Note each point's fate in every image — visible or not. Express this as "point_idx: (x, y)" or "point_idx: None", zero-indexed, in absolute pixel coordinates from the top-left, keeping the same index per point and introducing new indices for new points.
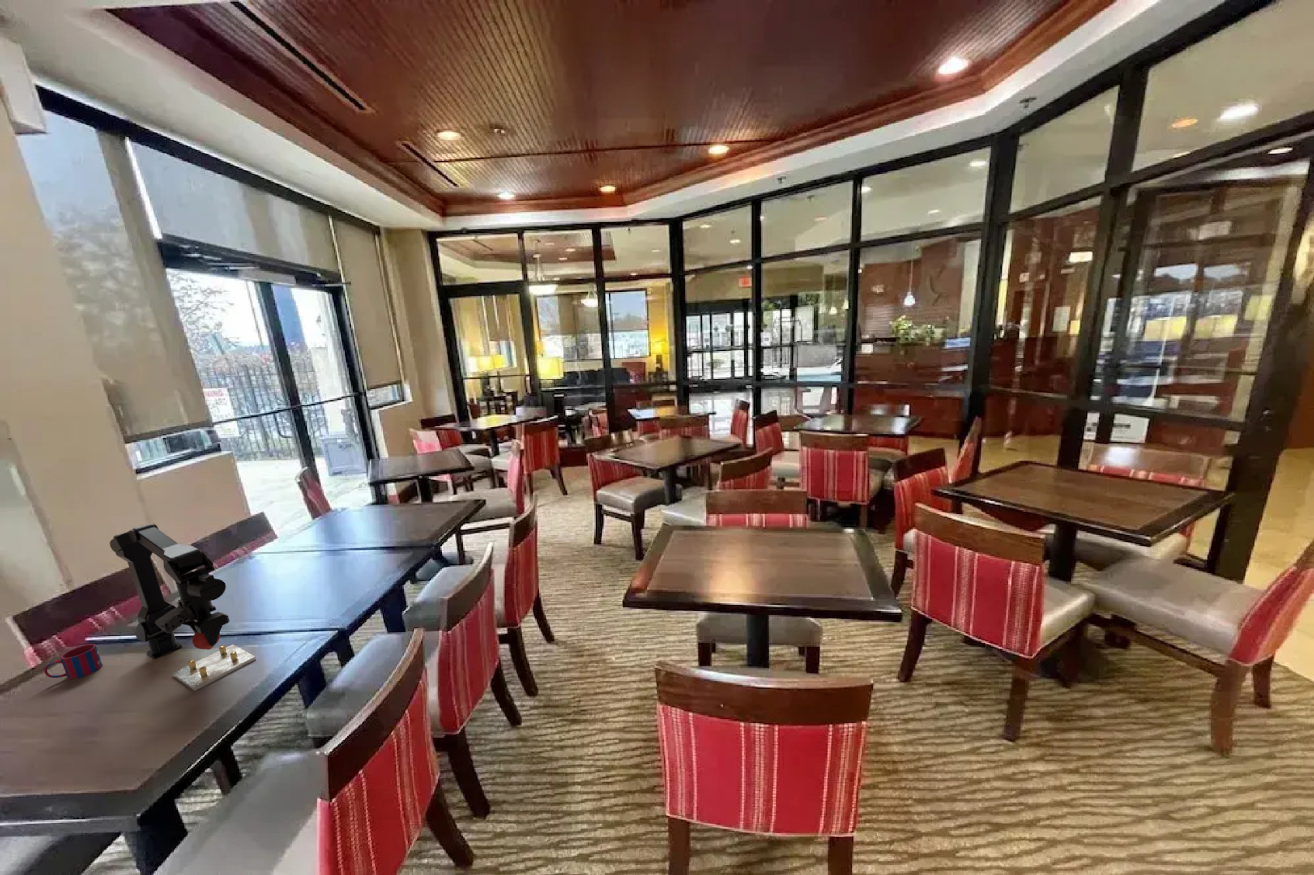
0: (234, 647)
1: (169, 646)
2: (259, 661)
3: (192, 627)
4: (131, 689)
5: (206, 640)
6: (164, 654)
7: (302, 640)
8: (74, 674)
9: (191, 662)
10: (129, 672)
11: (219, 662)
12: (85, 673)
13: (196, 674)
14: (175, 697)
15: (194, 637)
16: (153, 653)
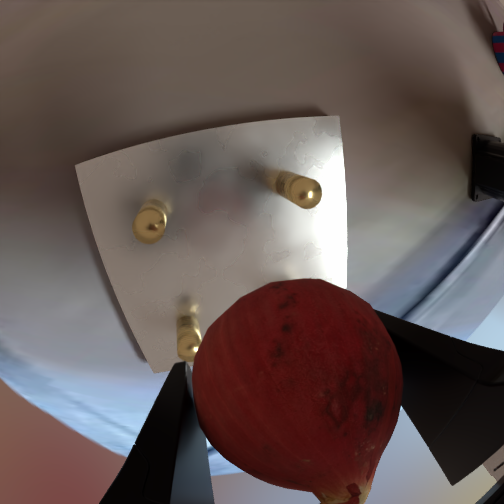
0: None
1: (487, 176)
2: (127, 367)
3: (470, 379)
4: (363, 17)
5: (197, 401)
6: (473, 157)
7: None
8: (501, 34)
9: (293, 191)
10: (459, 73)
11: (234, 277)
12: (497, 45)
13: (208, 185)
14: (102, 93)
15: (315, 372)
16: (489, 142)
